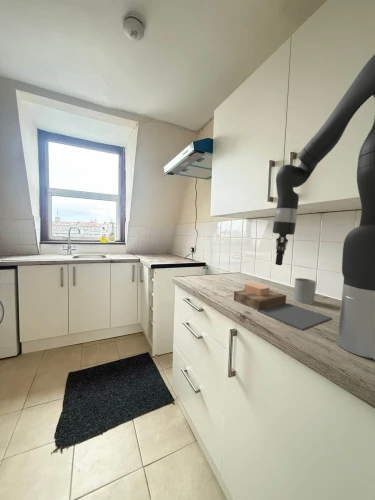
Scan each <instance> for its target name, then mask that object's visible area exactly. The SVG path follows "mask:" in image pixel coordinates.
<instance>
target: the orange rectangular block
mask: <svg viewBox="0 0 375 500" xmlns="http://www.w3.org/2000/svg"><path fill="white" fill-rule="evenodd" d="M243 290H244V291H247V292H250V293H253V294H256V295H259V296H262V295H267V294H269V290H270V287H268V286H265V285H261V284H259V283H255V282H250V283H244V289H243Z"/></svg>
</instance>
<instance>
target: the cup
mask: <svg viewBox="0 0 375 500" xmlns="http://www.w3.org/2000/svg"><path fill="white" fill-rule="evenodd" d="M316 284H317V281H316V280H314V279H313V280H312V279H308V278H296V277H295V279H294V287H293V289H294V290H293V301H294V302H297V303H299V304H300V303H301V304H303V305H304V304H305V305H313V304H314V303H315V296H316V286H317V285H316Z"/></svg>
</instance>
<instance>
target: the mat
mask: <svg viewBox="0 0 375 500" xmlns="http://www.w3.org/2000/svg"><path fill="white" fill-rule="evenodd" d="M257 312H258V313H260V314H262V315H265V316H268V317H270V318H272V319H275V320H276V321H280V322H282V323H284V324H286V325H288V326H291V327H293V328H295V329H298V330H300V331H304V330H306V329H309V328H311V327H315V326H317V325H319V324H321V323H324V322H327V321H329V320H332V319H333V318H332V317H330V316H328V315H325V314H322V313H318V312H315V311H313V310H310V309H307V308H303V307H301V306H299V305H294V304H291V303H287V302H286V304H283V305H279V306H274V307H270V308H266V309H262V310H257Z"/></svg>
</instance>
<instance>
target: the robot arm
mask: <svg viewBox="0 0 375 500" xmlns="http://www.w3.org/2000/svg"><path fill="white" fill-rule="evenodd" d="M371 97H373V98H374V99H375V53H374V54H373V55H372V57H370V58H369V60H368V61H366V64H364V66H363V67H362V68H361V70H360V71H359V73H358V74H357V76H356V77H355V79H354V80H353V82H352V83H351V85H350V86H349V87H348V89H347V90H346V92H345V93H344V95H343V97H342V98H341V99H340V100H339V102H338V103H337V105H336V107H335V108H334V109H333V111H332V112H331V114H330V115H329V117H328V118H327V119H326V121H325V122H324V123H323V125H322V126H321V127H320V128H319V130H318V131H317V132H316V133H315V134H314V136H313V137H311V139H310V140H309V141H308V142H307V143H306V145H305V146H304V147H303V148H302V149H301V150H300V152H299V153H298V159H299V160H300V163H299V164H298V166H296V165H292V164H284V165H282V166H281V167H280V168H279V170H278V171H277V173H276V177H275V185H276V192H277V202H276V203H277V204H276V209H275V213H274V219H273V224H272V225H273V227H272V233H273V234H278V235H279V236H278V237H277V238H276V240H275V241H276V242H275V244H276V245H275V250H276V251H275V253H276V257H275V265H276V266H282V265H283V260H284V256H285V251H286V250H287V245H288V242H289V239H288V238H287V235H289V236H290V235H292V236H294V235H295V232H296V225H297V218H298V207H299V200H300V199H299V194H298V193H296V192H295V190H294V188H299V187H300V186H302V185H304V184H305V183H306V182H307V181H308V179H309V178H310V177H311V176H312V174H313V172H314V170H315V169H316V167H317V165H318V164H319V163H320V162H321V161H323V159H324V158H325V157H327V155H328V154H329V153H331V151H332V150H333V149H334V148H335V147H336V145H338V143H339V141H340V139H342V136H343V135H344V132H345V131H346V129H347V127H348V125H349V123H350V122H351V120H352V118H353V117H354V115H355V114H356V113H357V111H359V109H360V108H361V107H362V106H363V105H364V104H365V103H366V102H367V101H368V100H369V99H370V98H371ZM356 184H357V191H358V196H359V200H360V205H361V212H360V213H361V214H360V221H359V226H358V227H355V228H353V229H351V230H350V231H349V232H348V233H347V235H346V236H345V239H344V242H343V247H342V259H341V260H342V261H341V273H342V276H343V283H342V295H341V302H340V303H341V304H340V311H339V313H340V314H339V321H338V334H337V344H338V346H339V347H341V348H342V349H344V350H345V351H348V352H349V353H352V354H354V355H357V356H358V357H359V356H360V357H363V358H368V359H371V358H372V359H371V360H373V361H375V116H374V118H373V123H372V126H371V128H370V130H369V132H368V134H367V136H366V137H365V139H364V141H363V143H362V145H361V147H360V150H359V154H358V159H357V167H356Z"/></svg>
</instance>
